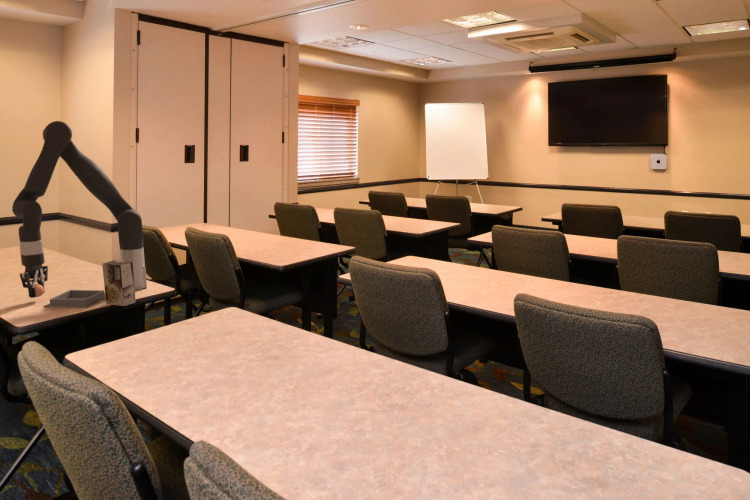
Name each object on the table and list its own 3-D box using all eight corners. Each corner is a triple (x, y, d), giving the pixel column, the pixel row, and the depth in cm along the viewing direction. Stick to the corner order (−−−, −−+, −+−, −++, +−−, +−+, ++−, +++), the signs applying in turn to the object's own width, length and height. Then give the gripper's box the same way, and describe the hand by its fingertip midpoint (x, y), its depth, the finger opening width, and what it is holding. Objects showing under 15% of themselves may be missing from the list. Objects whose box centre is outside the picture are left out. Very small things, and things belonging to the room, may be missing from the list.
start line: (69, 296, 221) (69, 296, 221) (48, 307, 207) (48, 306, 207) (65, 296, 221) (64, 296, 221) (43, 306, 207) (43, 306, 207)
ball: (44, 294, 217) (43, 282, 216) (44, 297, 213) (43, 284, 212) (30, 296, 215) (28, 283, 214) (29, 299, 211) (27, 286, 210)
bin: (104, 297, 221) (103, 290, 220) (86, 307, 207) (85, 299, 207) (70, 297, 221) (70, 289, 220) (50, 306, 208) (49, 299, 207)
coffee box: (136, 302, 215) (133, 261, 212) (123, 306, 209) (120, 265, 206) (117, 299, 218) (114, 259, 215) (105, 304, 212) (101, 262, 209)
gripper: (34, 248, 218) (38, 290, 221) (9, 256, 204) (15, 300, 207) (52, 248, 218) (57, 290, 221) (29, 256, 204) (35, 300, 207)
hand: (37, 295), depth 214 cm, fingers closed on ball, 5 cm apart
